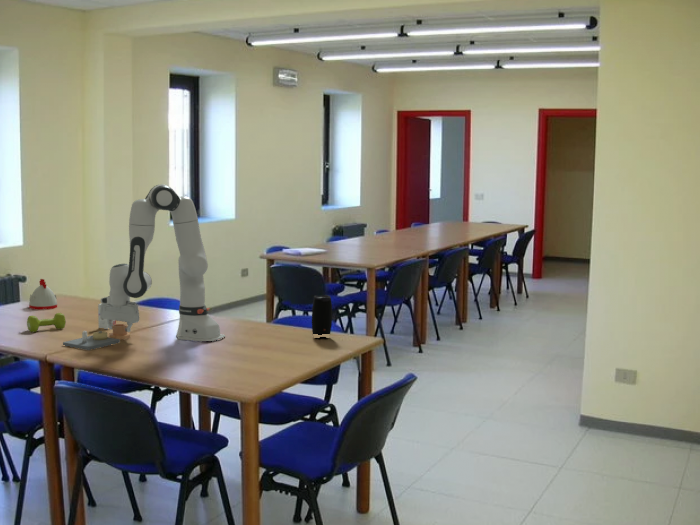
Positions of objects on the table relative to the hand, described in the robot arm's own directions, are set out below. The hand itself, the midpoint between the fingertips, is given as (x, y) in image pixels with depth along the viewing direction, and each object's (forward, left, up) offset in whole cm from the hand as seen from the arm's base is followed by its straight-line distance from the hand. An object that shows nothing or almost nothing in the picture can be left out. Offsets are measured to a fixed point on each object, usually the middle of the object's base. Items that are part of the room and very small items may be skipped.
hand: (119, 330), depth 367 cm
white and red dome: (+83, -32, -3) cm, 89 cm away
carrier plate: (0, +17, -3) cm, 17 cm away
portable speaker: (-74, -52, -3) cm, 91 cm away
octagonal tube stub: (0, 0, -3) cm, 3 cm away
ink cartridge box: (+20, -13, -3) cm, 24 cm away
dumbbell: (+38, +7, -4) cm, 39 cm away
